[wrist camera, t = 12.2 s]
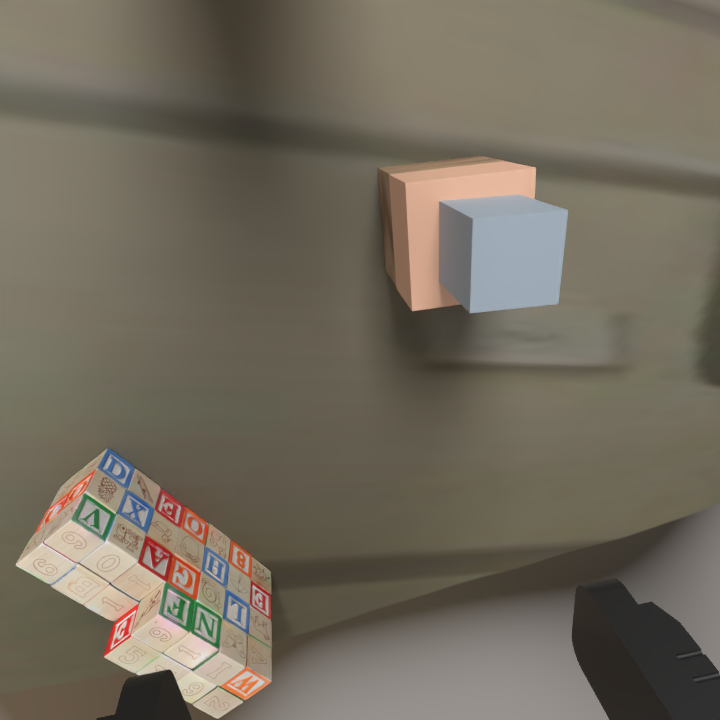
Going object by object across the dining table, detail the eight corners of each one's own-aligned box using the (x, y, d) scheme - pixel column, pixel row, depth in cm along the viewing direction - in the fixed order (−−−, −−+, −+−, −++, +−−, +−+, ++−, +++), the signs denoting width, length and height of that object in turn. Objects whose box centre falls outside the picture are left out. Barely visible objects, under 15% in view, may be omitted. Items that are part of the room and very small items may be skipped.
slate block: (439, 201, 32) (472, 218, 26) (519, 194, 32) (568, 210, 27) (438, 281, 34) (469, 313, 28) (513, 274, 34) (558, 303, 29)
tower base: (377, 167, 40) (390, 174, 36) (479, 155, 41) (505, 160, 36) (385, 270, 43) (398, 288, 39) (479, 257, 44) (502, 274, 40)
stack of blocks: (58, 485, 47) (-7, 598, 36) (108, 444, 46) (56, 548, 35) (228, 603, 56) (217, 723, 45) (273, 571, 55) (273, 685, 44)
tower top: (388, 174, 36) (405, 182, 31) (503, 161, 36) (536, 167, 32) (396, 288, 39) (412, 311, 34) (501, 274, 40) (529, 294, 35)
